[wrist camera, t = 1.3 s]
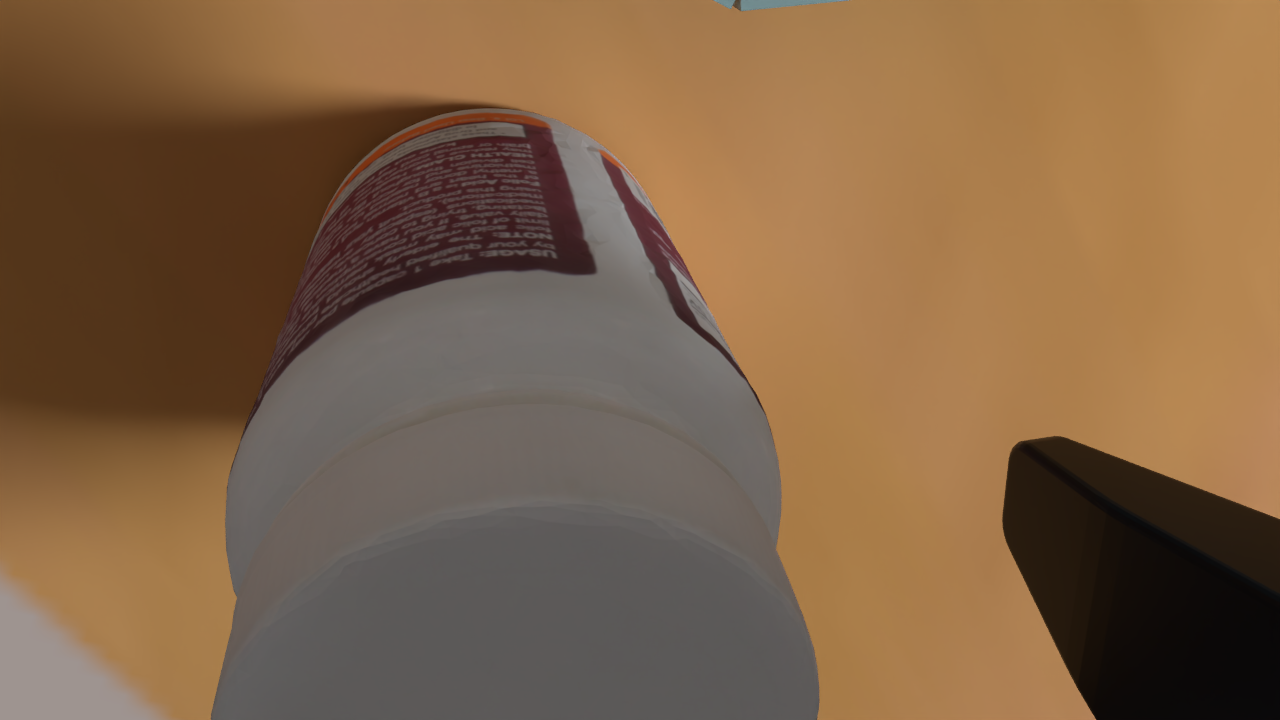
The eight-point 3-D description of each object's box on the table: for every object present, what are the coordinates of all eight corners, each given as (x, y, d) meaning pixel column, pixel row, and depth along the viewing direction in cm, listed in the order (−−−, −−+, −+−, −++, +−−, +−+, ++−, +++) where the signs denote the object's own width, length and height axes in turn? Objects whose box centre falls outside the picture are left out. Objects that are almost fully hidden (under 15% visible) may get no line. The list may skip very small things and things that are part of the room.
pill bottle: (270, 365, 14) (56, 940, 7) (384, 40, 12) (264, 329, 5) (584, 464, 16) (688, 1023, 8) (724, 185, 14) (1013, 571, 7)
